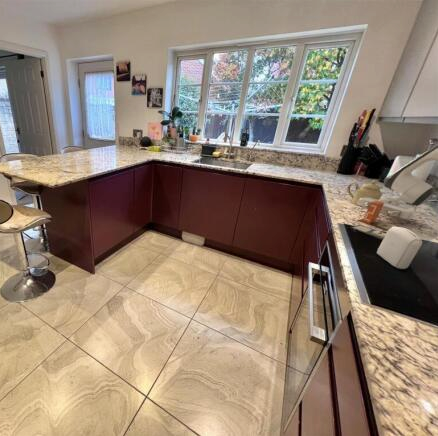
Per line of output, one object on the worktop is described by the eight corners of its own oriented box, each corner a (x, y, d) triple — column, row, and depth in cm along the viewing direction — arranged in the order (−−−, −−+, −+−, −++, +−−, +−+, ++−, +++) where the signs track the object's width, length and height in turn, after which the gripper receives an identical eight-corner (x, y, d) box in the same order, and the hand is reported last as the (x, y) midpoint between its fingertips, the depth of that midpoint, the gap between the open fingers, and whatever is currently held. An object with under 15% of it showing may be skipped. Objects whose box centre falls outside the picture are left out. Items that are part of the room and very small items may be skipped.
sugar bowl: (343, 203, 137) (354, 178, 130) (342, 198, 145) (352, 174, 139) (377, 209, 129) (390, 183, 123) (373, 203, 138) (385, 179, 131)
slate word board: (410, 245, 93) (413, 241, 93) (401, 249, 90) (404, 245, 89) (358, 226, 108) (360, 222, 107) (349, 229, 105) (351, 225, 104)
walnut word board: (413, 236, 101) (415, 232, 100) (405, 239, 98) (407, 236, 97) (364, 219, 115) (366, 216, 114) (355, 222, 112) (357, 218, 111)
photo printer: (373, 252, 87) (389, 222, 82) (386, 253, 87) (403, 224, 81) (394, 268, 78) (413, 236, 73) (409, 270, 78) (429, 238, 72)
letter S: (374, 222, 111) (384, 202, 106) (369, 223, 109) (379, 204, 104) (367, 219, 113) (376, 200, 109) (361, 221, 111) (371, 201, 107)
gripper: (368, 193, 122) (354, 196, 116) (422, 207, 105) (409, 211, 100) (363, 204, 125) (349, 208, 119) (415, 219, 108) (401, 224, 102)
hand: (377, 209), depth 109 cm, fingers open, 8 cm apart
